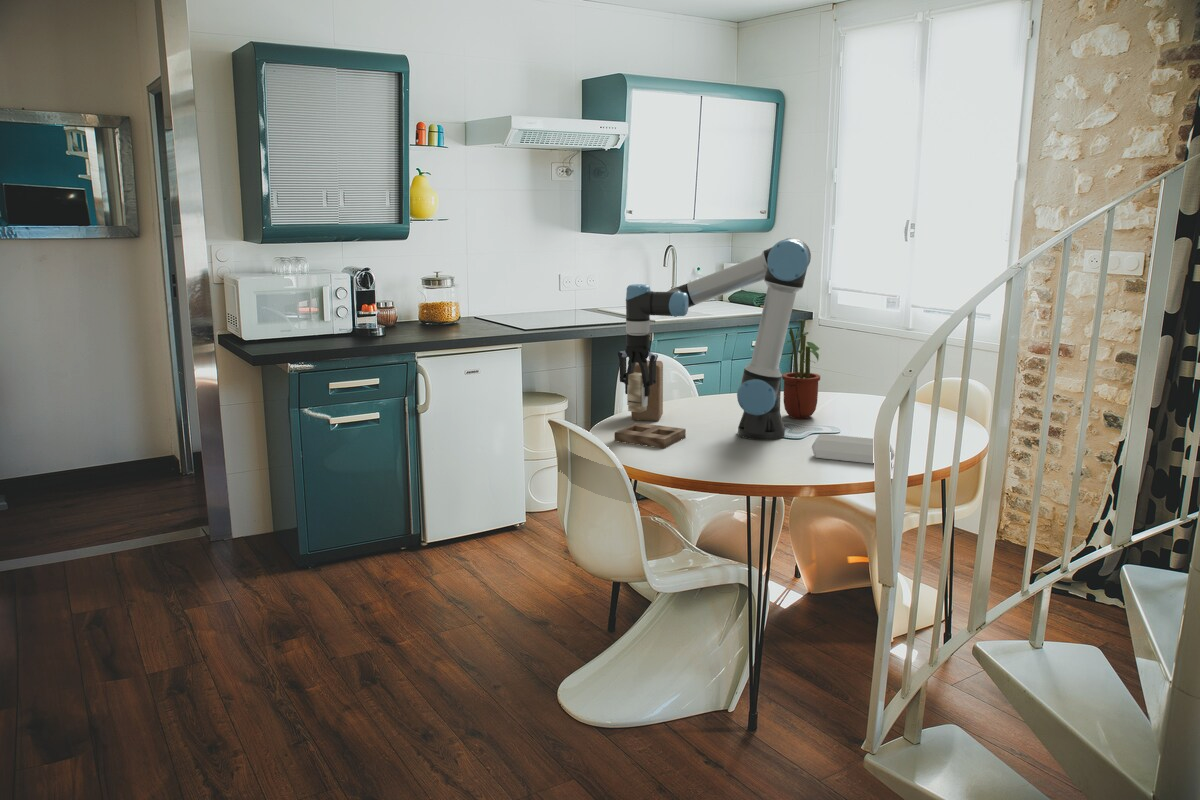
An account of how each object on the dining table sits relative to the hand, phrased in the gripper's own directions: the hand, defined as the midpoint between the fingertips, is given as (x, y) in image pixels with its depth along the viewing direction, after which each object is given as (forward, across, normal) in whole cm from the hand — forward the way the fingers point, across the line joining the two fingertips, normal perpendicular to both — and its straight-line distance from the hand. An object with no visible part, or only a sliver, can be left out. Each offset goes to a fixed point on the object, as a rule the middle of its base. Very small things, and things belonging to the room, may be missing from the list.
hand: (637, 404), depth 301 cm
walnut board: (+11, -5, 0) cm, 12 cm away
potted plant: (+11, -35, -55) cm, 66 cm away
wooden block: (+11, +10, -26) cm, 30 cm away
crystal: (+11, -68, -9) cm, 69 cm away
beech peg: (+2, 0, 0) cm, 2 cm away
